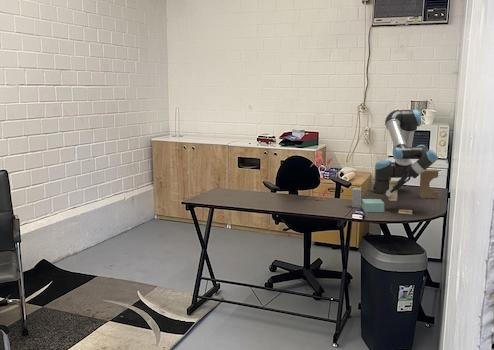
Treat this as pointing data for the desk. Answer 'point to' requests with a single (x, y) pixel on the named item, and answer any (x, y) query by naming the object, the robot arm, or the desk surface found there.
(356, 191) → the slate-grey pillar
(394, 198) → the maple pillar
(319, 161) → the figurine
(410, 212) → the maple swatch tile
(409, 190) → the desk surface
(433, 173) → the decorative block
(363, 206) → the teal base block
